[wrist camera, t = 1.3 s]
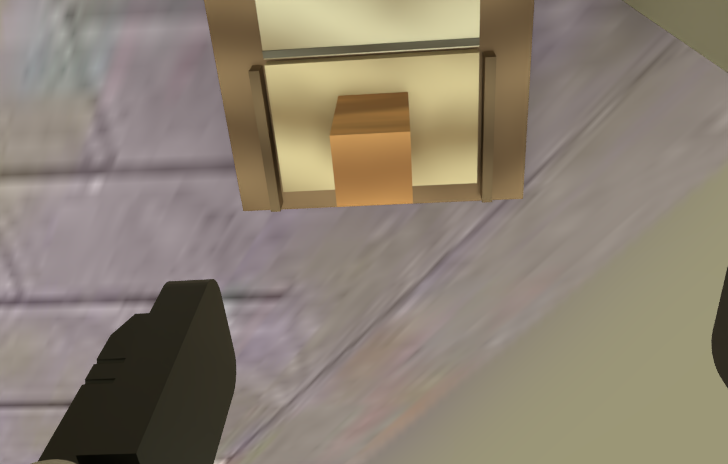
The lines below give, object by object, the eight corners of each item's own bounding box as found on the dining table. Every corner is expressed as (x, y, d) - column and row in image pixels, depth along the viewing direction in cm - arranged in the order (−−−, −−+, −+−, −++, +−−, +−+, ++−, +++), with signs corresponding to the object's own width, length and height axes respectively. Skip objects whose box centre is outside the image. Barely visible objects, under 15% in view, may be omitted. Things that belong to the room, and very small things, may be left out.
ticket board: (180, -187, 33) (150, -190, 29) (538, -218, 32) (560, -227, 28) (249, 196, 45) (234, 232, 40) (517, 184, 43) (530, 220, 39)
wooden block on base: (266, 61, 38) (243, 101, 32) (477, 48, 37) (493, 87, 31) (285, 186, 42) (267, 242, 36) (475, 177, 41) (489, 233, 35)
